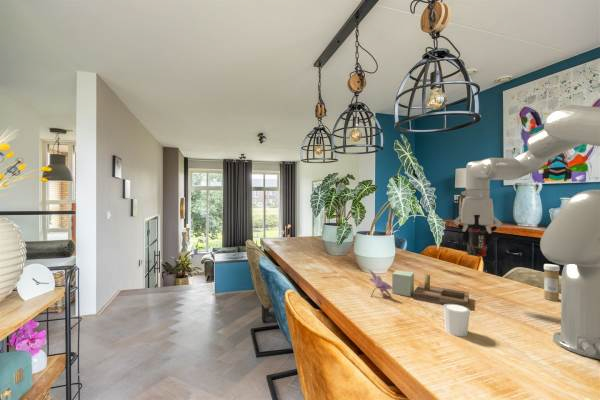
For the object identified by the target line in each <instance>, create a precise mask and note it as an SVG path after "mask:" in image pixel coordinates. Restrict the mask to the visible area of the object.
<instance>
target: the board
mask: <svg viewBox="0 0 600 400" xmlns="http://www.w3.org/2000/svg"><path fill="white" fill-rule="evenodd" d="M423 283H424V284H422V283H421V284H418V286H416V288H414V292H413V294H412V299H413V300H417V301H423V302H429V303H432V304H433V303H434V304H438V305H442V306H443V305H445V304H457V305H461V306H464V307H467V308H468V309H469V307H468V306H469V298H470V293H469V292H468V291H464V290H457V289H451V288H445V287H438V286H432V285H431V274H428V273H425V274H424V282H423Z"/></svg>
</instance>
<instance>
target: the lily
mask: <svg viewBox="0 0 600 400" xmlns="http://www.w3.org/2000/svg"><path fill="white" fill-rule="evenodd" d="M368 272H370V274H371V276H372V278H369V281H370V282H372V283H374V287H375V288H374V289H373V290H372V293H371V295H370V297H373V294H374V292H375V290H376V289H379V291H380V292H382V293H383V292H385V293H386V294H387V295H388V296H389V297H392V295H391V293H390V292H389V291H388V290H392V289H393V288H392V285H390V284H389V283H388V282H385V281H383V279H382V278H381V275H377V274H376V273H375V272H373V270H371V269H368Z"/></svg>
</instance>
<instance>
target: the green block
mask: <svg viewBox="0 0 600 400" xmlns="http://www.w3.org/2000/svg"><path fill="white" fill-rule="evenodd" d="M391 280H392V285H391V287H392V288H393V289H391V290H392V291H391V292H392V294H395V295H400V296H405V297H412V296H413V292H414V291H415V272H413V271H405V270H399V269H398V270H397V269H396V270H395V271H394V272H393V273H392V279H391Z"/></svg>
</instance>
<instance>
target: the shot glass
mask: <svg viewBox="0 0 600 400" xmlns="http://www.w3.org/2000/svg"><path fill="white" fill-rule="evenodd" d="M442 309H443V317H444V319H443V320H444V330H445V332H446V333H447V334H450V335H451V336H455V337H467V335H468V330H469V322H470V315H471V310H470V308H469V307H468V308H467V307H464V306H461V305H457V304H445V305H443V304H442Z"/></svg>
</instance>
